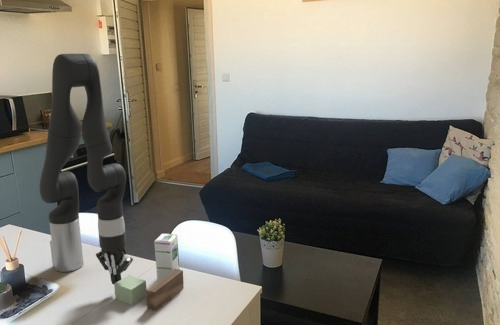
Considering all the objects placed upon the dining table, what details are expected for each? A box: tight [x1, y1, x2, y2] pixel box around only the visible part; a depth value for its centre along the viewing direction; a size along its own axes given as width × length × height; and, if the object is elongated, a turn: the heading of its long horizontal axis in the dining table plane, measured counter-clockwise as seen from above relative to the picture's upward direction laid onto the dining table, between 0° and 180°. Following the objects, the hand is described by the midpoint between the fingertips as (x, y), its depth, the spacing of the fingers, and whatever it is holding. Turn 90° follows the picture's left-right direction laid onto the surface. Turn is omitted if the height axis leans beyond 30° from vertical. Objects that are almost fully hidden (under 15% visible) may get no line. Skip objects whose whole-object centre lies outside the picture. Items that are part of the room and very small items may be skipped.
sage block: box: [113, 274, 147, 305], centre depth 129 cm, size 7×6×5 cm
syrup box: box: [153, 233, 181, 282], centre depth 138 cm, size 6×6×14 cm
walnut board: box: [145, 268, 185, 312], centre depth 128 cm, size 3×14×6 cm, turn 154°
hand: (116, 283), depth 131 cm, fingers closed
